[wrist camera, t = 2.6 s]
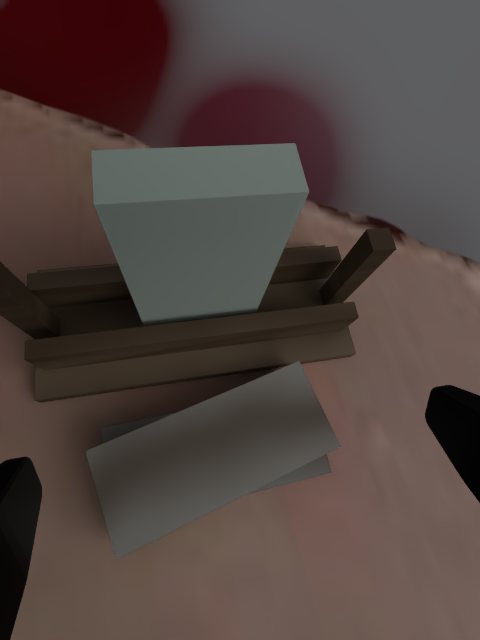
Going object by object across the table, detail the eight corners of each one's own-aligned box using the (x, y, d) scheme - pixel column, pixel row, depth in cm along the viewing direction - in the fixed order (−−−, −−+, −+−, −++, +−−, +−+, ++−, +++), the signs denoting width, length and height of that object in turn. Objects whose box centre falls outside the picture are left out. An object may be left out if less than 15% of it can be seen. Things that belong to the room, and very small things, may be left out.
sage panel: (251, 321, 22) (308, 191, 11) (147, 334, 21) (93, 204, 10) (246, 292, 23) (295, 143, 12) (144, 303, 22) (91, 150, 11)
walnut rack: (350, 356, 23) (422, 313, 16) (40, 402, 20) (-49, 374, 13) (321, 251, 26) (370, 172, 18) (42, 276, 23) (-31, 193, 15)
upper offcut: (330, 446, 20) (340, 446, 19) (122, 550, 17) (116, 560, 16) (291, 367, 22) (299, 361, 20) (93, 450, 19) (85, 451, 17)
